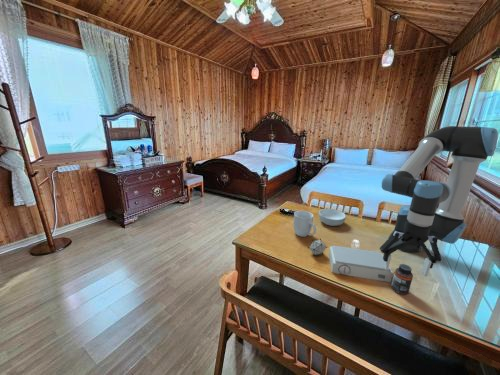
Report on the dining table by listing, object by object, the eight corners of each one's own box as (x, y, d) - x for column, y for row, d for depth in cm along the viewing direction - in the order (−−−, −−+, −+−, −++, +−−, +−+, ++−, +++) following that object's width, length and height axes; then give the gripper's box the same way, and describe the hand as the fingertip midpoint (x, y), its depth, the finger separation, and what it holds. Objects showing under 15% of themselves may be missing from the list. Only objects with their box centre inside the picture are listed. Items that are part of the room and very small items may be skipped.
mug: (320, 238, 127) (323, 217, 123) (307, 244, 121) (310, 222, 117) (300, 228, 139) (302, 209, 135) (288, 232, 133) (290, 213, 129)
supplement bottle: (401, 284, 93) (407, 262, 89) (411, 295, 87) (419, 272, 84) (387, 284, 93) (393, 262, 89) (397, 295, 87) (403, 272, 83)
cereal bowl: (314, 217, 154) (316, 208, 152) (338, 217, 154) (339, 208, 152) (322, 229, 138) (323, 219, 136) (348, 229, 138) (350, 219, 136)
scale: (380, 262, 107) (382, 251, 105) (391, 283, 93) (394, 271, 91) (328, 254, 112) (330, 244, 110) (331, 273, 98) (333, 262, 97)
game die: (319, 262, 112) (328, 255, 104) (303, 254, 113) (312, 247, 105) (322, 246, 118) (331, 239, 110) (307, 240, 118) (315, 232, 110)
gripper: (451, 222, 81) (435, 270, 88) (378, 214, 87) (367, 259, 93) (465, 232, 74) (446, 283, 81) (384, 222, 80) (372, 271, 86)
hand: (404, 271), depth 87 cm, fingers open, 13 cm apart
